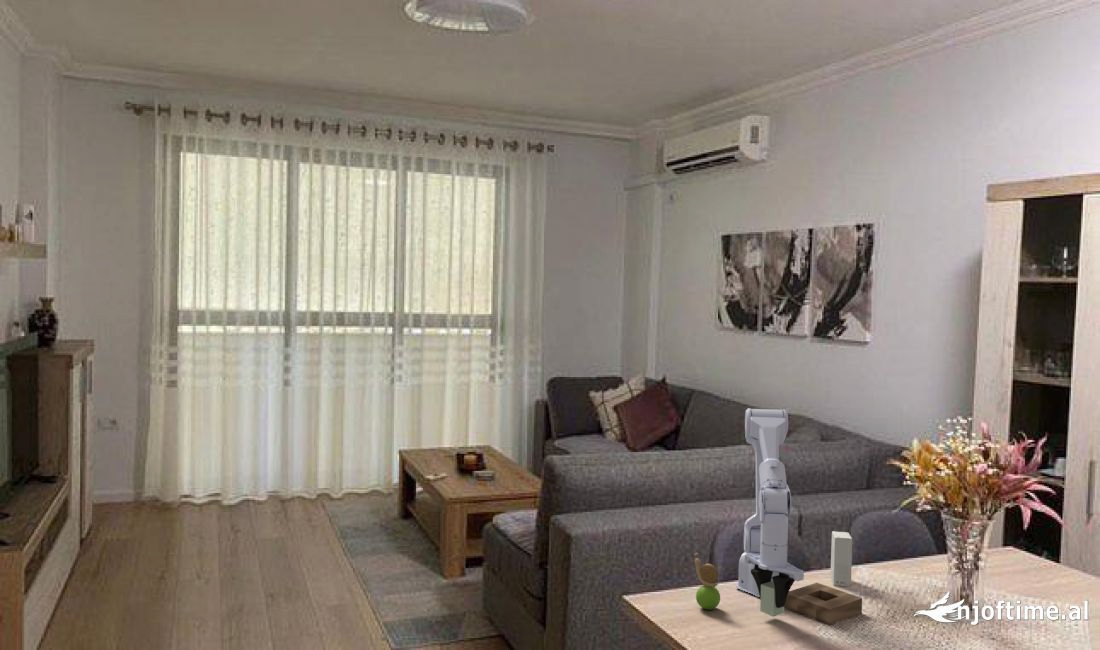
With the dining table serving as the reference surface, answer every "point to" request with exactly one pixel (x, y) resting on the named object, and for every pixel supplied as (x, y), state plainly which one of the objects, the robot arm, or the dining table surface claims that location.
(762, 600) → the sage peg
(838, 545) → the skincare box
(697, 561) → the snail figurine
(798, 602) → the walnut socket block
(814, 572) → the dining table surface
